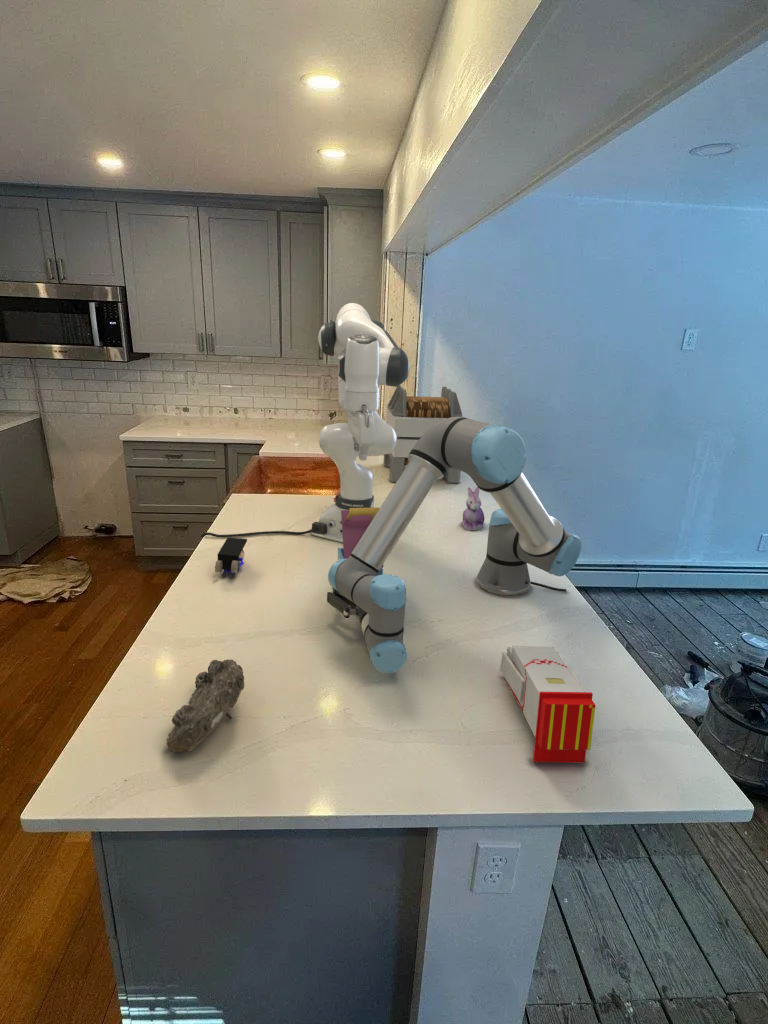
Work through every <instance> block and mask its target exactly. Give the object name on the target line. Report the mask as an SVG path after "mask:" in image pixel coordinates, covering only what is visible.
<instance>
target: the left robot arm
mask: <svg viewBox="0 0 768 1024" xmlns="http://www.w3.org/2000/svg"><path fill="white" fill-rule="evenodd" d="M317 342H318V346H319V348H320V349H321V352H322V353H323V354H324V355H326V356H330V357H334V356H337V357H338V368H337V369H338V371H337V389H338V390H337V391H338V392H337V393H338V404H339V408H340V409H341V410H342V411H343V412H344V413H346V418H347V420H346V421H347V422H337V423H330V424H327V425H323V427H322V429H321V430H320V432H319V435H318V445H319V447H320V450H321V451H322V452H323V454H325V455H326V456H328V457H329V458H330V459H331V460H332V462H333V463H334V464H335V466H336V467H337V470H338V474H339V483H340V484H339V485H340V488H339V489H340V490H339V491H338V492H337V494H336V495H335V496H334V497H333V502H334V504H333V505H331V506H329V507H328V508H326V509H325V510H323V512H321V514H320V515H319V517H318V521H314V522H312V523H311V529H308V530H306V531H305V530H304V531H287V530H268V531H267V530H266V531H253V532H245V533H232V534H217V533H213V532H204V533H203V534H202V535H200V538H204V537H206V536H212V537H215V538H239V537H249V536H256V535H258V536H259V535H272V534H274V535H277V534H281V535H282V534H284V535H297V536H299V535H300V536H301V535H307V534H311V536H315V537H319V538H323V539H326V540H330V541H336V542H339V543H343V535H342V519H341V510H349V508H375V496H374V474H373V472H372V471H371V469H369V468H368V467H366V466H364V465H362V464H360V463H359V462H357V458H359V460H360V461H362V462H363V461H367V459H368V457H380V456H384V455H385V454H389V453H391V452H392V451H393V450H394V448H395V446H396V442H397V437H396V433H395V431H394V429H393V428H392V427H391V426H390V425H389V424H387V423H386V420H384V419H383V418H382V417H381V415H380V414H379V413H378V410H379V409H380V408H379V407H380V405H379V404H380V387H379V386H386V387H395V388H397V387H398V386H399V385H400V386H401V385H402V384H403V383H405V381H407V379H408V377H409V371H410V362H409V361H410V360H409V356H408V354H407V353H406V352H405V351H404V349H403V348H402V347H400V346H399V345H398V344H397V342H395V340H394V339H393V337H392V336H391V335H390V333H389V332H388V331H387V330H386V328H385V325H384V323H382V322H381V321H379V320H375V319H371V317H370V315H369V313H368V311H367V310H366V309H365V307H363V305H361V304H359V303H357V302H349V303H346V304H344V305H343V306H342V307H341V308H340V309H339V310H338V313H337V315H336V319H335V320H333V319H329V321H328V322H324V323H323V324H322V325H321V326H320V329H319V331H318V335H317Z"/></svg>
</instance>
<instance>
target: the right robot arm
mask: <svg viewBox="0 0 768 1024" xmlns="http://www.w3.org/2000/svg"><path fill="white" fill-rule="evenodd" d="M526 453H527V448H526V444H525V442H524V439H523V438H522V436H521V435H520V434H519V433H518V432H516V431H515V430H513V429H511V428H509V427H507V426H504V425H501V424H494V423H489V422H484V421H479V420H476V419H471V418H468V417H464V416H462V417H451V418H447V419H444V420H442V421H440V422H439V423H437V424H436V425H434V426H433V427H432V428H430V429H429V430H428V431H427V432H426V433H425V434H424V435H423V436H422V437H421V438H420V439H419V440H418V442H417V443H416V444H415V446H414V447H413V449H412V450H411V452H410V453H409V455H408V460H409V463H408V465H405V467H404V468H403V472H402V474H401V476H400V477H399V479H398V480H397V482H395V483H394V485H393V487H392V488H391V489H390V492H389V493H388V495H387V496H386V497H385V499H384V501H383V502H382V504H381V506H379V507H380V509H379V510H378V512H377V514H376V515H375V517H374V518H373V520H372V521H371V523H370V525H369V526H368V528H367V529H366V531H365V532H364V534H363V536H362V537H361V539H360V540H359V542H358V544H357V545H356V547H355V548H354V550H353V551H352V553H351V555H350V556H349V558H348V559H340V560H338V561H335V562H334V563H333V564H332V565H331V566H330V568H329V569H328V574H327V580H328V583H329V585H330V586H331V587H332V591H327V593H326V603H327V604H329V605H330V606H331V607H333V608H334V609H335V610H337V611H338V612H339V613H341V614H342V615H343V617H344V619H349V618H350V616H352V615H355V616H356V617H357V618H358V620H359V624H360V628H361V630H362V634H363V637H364V640H365V643H366V647H367V650H368V654H369V655H368V656H369V659H370V661H371V663H372V665H373V667H374V668H375V669H376V670H377V671H378V672H380V673H382V674H394V673H397V672H398V671H400V670H402V669H403V667H404V666H405V664H406V662H407V659H408V654H407V648H406V645H405V644H404V635H405V634H404V632H405V615H406V605H407V604H406V603H407V587H406V583H405V581H404V579H402V578H401V577H400V576H398V575H392V574H388V573H387V574H386V573H385V574H384V573H383V575H378V576H376V575H377V574H378V572H379V570H380V568H381V567H382V565H383V566H384V564H385V562H386V561H387V559H388V558H389V556H390V554H391V553H392V551H393V550H394V548H395V546H396V545H397V543H398V542H399V540H400V539H401V537H402V535H403V533H404V532H405V531H406V529H407V528H408V526H409V524H410V523H411V521H412V519H413V518H414V517H415V514H416V513H417V511H418V510H419V508H420V506H421V505H422V504H423V502H424V500H425V499H426V497H427V496H428V494H429V492H430V490H432V488H433V486H434V485H435V483H436V481H437V480H440V479H443V478H444V475H445V473H446V472H447V471H448V470H449V469H450V468H454V469H457V470H459V471H461V472H463V473H465V474H467V475H468V476H469V477H470V478H471V480H472V481H473V483H474V484H475V485H476V486H477V487H478V488H479V490H481V491H482V492H485V493H487V494H488V493H490V495H491V496H492V497H493V499H494V501H495V502H496V503H497V504H498V506H499V507H500V508H498V509H496V510H494V511H493V512H492V513H491V515H490V520H489V523H488V535H487V544H486V555H485V556H486V557H485V559H484V561H483V562H482V565H481V568H480V569H479V571H478V572H477V578H476V583H477V586H478V587H480V589H482V590H483V591H485V592H487V593H490V594H493V595H496V596H500V597H519V596H523V595H526V594H527V593H529V592H530V590H531V585H533V586H536V587H541V588H544V589H547V590H551V591H555V592H562V593H566V592H567V588H558V587H553V586H549V585H546V584H543V583H538V582H535V581H532V580H531V577H530V576H531V575H530V572H529V567H528V564H529V565H531V566H533V567H535V568H537V569H539V570H542V571H543V572H546V573H548V574H549V575H554V576H556V577H564V576H565V575H567V574H568V573H570V571H572V569H573V568H574V567H575V565H576V563H577V561H578V559H579V557H580V555H581V550H582V540H581V538H580V537H579V536H578V535H575V534H574V533H570V532H568V531H566V529H565V528H564V525H562V523H561V522H560V521H559V520H558V519H557V518H556V517H554V516H552V515H549V514H548V512H547V511H546V509H545V506H544V505H543V503H542V502H541V501H540V499H539V497H538V495H537V494H536V492H535V491H534V489H533V488H532V486H531V484H530V483H529V481H528V479H527V477H526V476H525V475H524V473H523V471H524V468H525V465H526V462H527V461H526V460H527V456H526V455H525V454H526ZM477 487H476V488H477Z"/></svg>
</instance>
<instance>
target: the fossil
mask: <svg viewBox="0 0 768 1024" xmlns="http://www.w3.org/2000/svg"><path fill="white" fill-rule="evenodd" d="M243 670H244V669H243V667H242V665H240V664H237V662H236V661H235V660H234V659H232V658H231V659H227V658H226V659H224V660H223V661H222V660H217V659H212V660H211V661H210V663H209V665H208V666H207V671H201V672H199V673H198V674H197V675H196V676H195V680H194V684H195V685H194V687H195V689H194V690H193V693H192V694H191V697H190V698H189V700H188V704H184V705H182V706H181V707H180V709H177V710H176V711H175V713H174V715H173V716H172V718H171V723H172V724H173V727H172V730H171V731H170V732H168V734H167V738H166V741H167V742H166V745H167V749H168V750H169V751H173V752H174V753H176V754H178V753H182V752H188V751H189V752H192V751H193V750H195V748H196V747H197V746H199V744H200V743H201V742H203V741H204V740H205V739H206V738H207V737H208V736H209V735H210V734H211V733H212V732H214V730H215V729H217V727H218V726H219V724H220V722H221V721H222V720H223V719H224V718H225V716H226V717H227V719H229V720H233V717H232V715H230V714H229V710H230V709H231V708H234V706H235V704H236V703H237V702H238V699H239V697H240V695H241V693H242V691H243V690H245V689H244V688H245V675H244V671H243Z"/></svg>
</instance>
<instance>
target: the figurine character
mask: <svg viewBox="0 0 768 1024" xmlns="http://www.w3.org/2000/svg"><path fill="white" fill-rule="evenodd" d="M247 542H248V538H240V537H226V539H225V541H224V543H223V544H222V546H221V547H220V549H219V551H218V552H217V560H216V562H215V564H214V572H215V573H221V577H222V578H224V577H225V576H226V574H227V573H230V574H231V573H232V574H231V578H234V577H235V575H236V573H237V572H239V571H240V567H242V566H243V565H244V564H245V562H244V558H245V551H244V547H245V546H246V544H247Z"/></svg>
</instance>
